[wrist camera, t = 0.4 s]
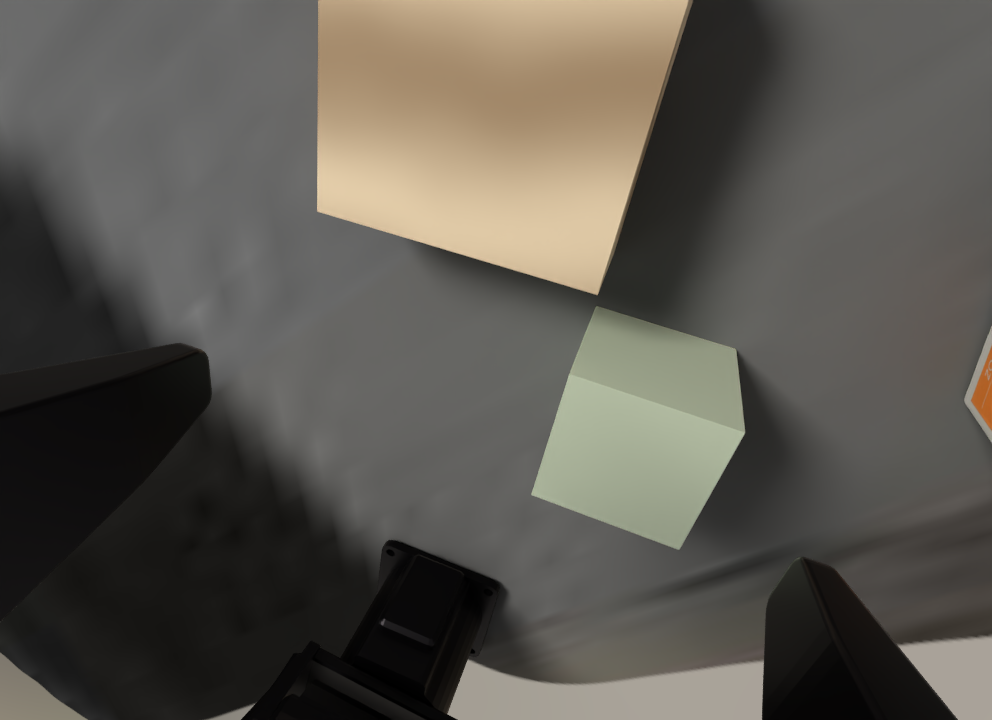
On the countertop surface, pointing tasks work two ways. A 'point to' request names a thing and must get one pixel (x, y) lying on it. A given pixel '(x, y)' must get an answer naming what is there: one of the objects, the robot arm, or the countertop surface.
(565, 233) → the maple block
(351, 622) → the countertop surface
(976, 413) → the skincare box
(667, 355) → the sage cube
